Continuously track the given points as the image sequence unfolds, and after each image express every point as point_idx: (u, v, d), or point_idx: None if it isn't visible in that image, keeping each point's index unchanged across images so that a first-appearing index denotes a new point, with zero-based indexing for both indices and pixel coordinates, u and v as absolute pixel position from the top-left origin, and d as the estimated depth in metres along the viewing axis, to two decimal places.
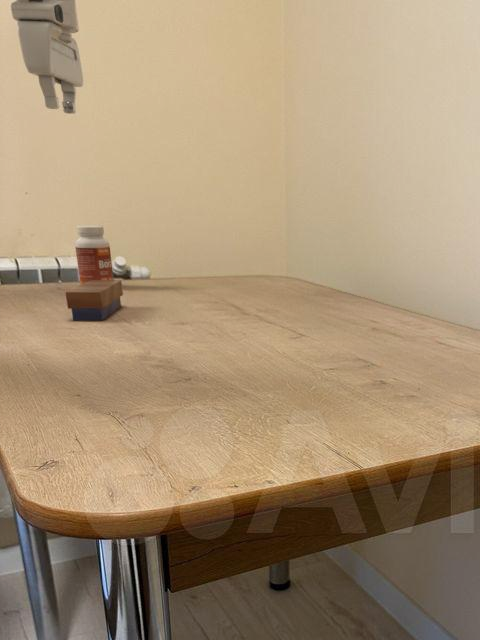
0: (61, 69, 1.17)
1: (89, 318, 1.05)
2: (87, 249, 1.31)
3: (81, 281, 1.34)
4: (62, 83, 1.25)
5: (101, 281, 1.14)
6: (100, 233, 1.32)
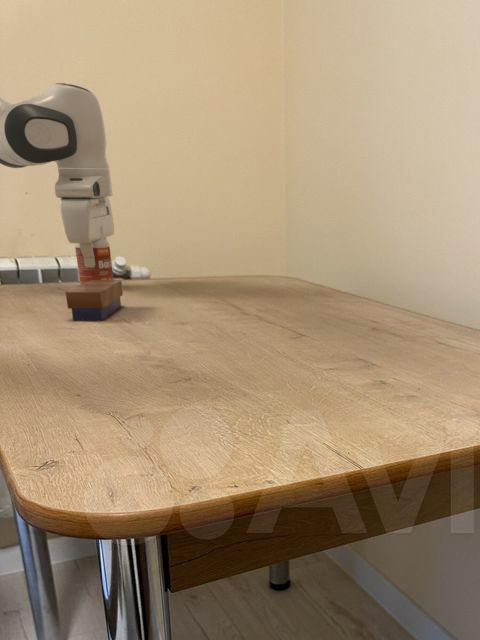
0: (97, 233, 1.29)
1: (89, 318, 1.05)
2: None
3: (81, 281, 1.34)
4: None
5: (101, 281, 1.14)
6: None
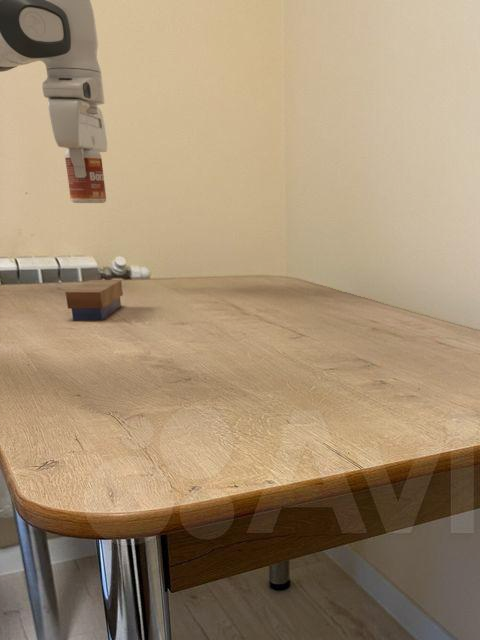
0: (88, 140, 1.22)
1: (89, 318, 1.05)
2: None
3: (71, 195, 1.27)
4: None
5: (101, 281, 1.14)
6: None
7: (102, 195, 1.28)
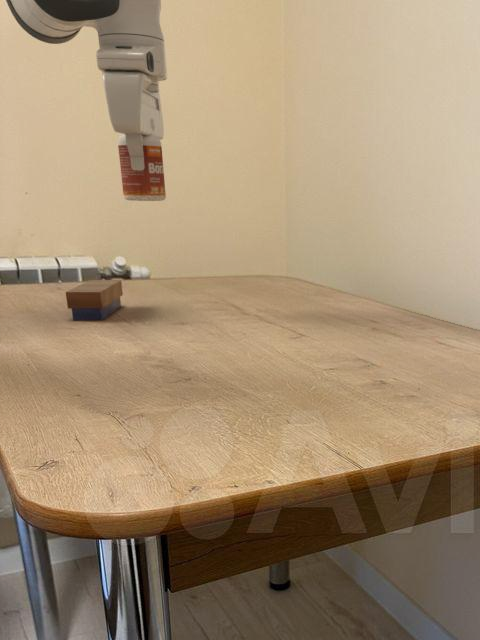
0: (148, 124, 1.00)
1: (89, 318, 1.05)
2: None
3: (125, 191, 1.04)
4: None
5: (101, 281, 1.14)
6: None
7: (162, 191, 1.05)
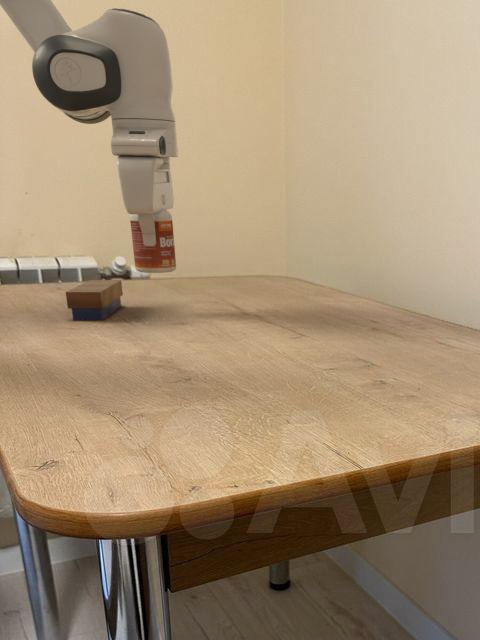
0: (159, 202, 1.03)
1: (89, 318, 1.05)
2: None
3: (137, 263, 1.07)
4: None
5: (101, 281, 1.14)
6: None
7: (172, 263, 1.08)
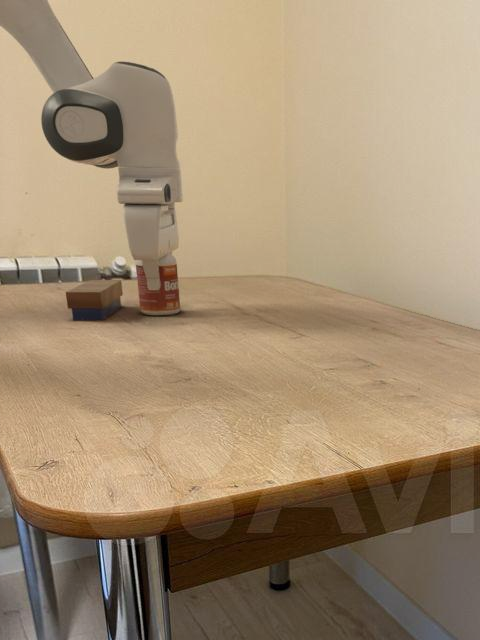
0: (164, 247, 1.05)
1: (89, 318, 1.05)
2: None
3: (142, 306, 1.10)
4: None
5: (101, 281, 1.14)
6: None
7: (177, 305, 1.11)
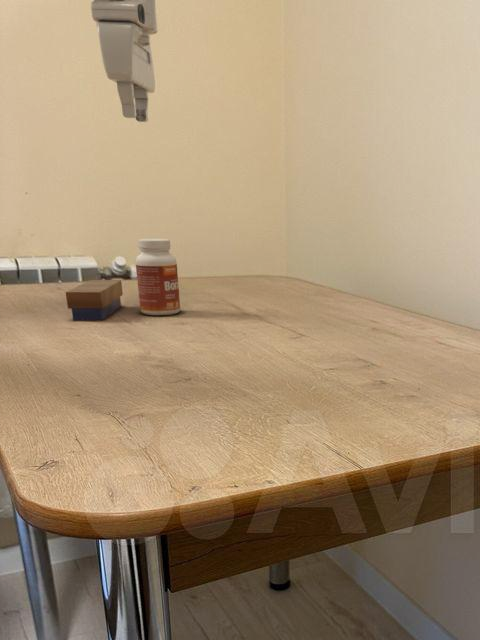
0: (139, 74, 1.07)
1: (89, 318, 1.05)
2: (151, 268, 1.06)
3: (142, 306, 1.10)
4: (135, 89, 1.15)
5: (101, 281, 1.14)
6: (166, 248, 1.07)
7: (177, 305, 1.11)
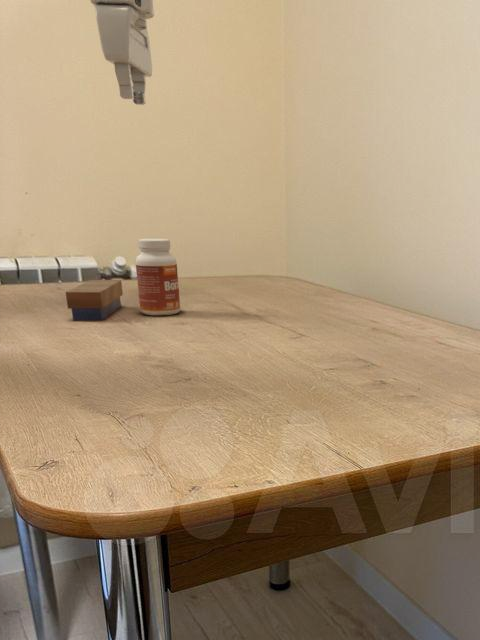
0: (136, 56, 1.10)
1: (89, 318, 1.05)
2: (151, 268, 1.06)
3: (142, 306, 1.10)
4: (132, 72, 1.18)
5: (101, 281, 1.14)
6: (166, 248, 1.07)
7: (177, 305, 1.11)
